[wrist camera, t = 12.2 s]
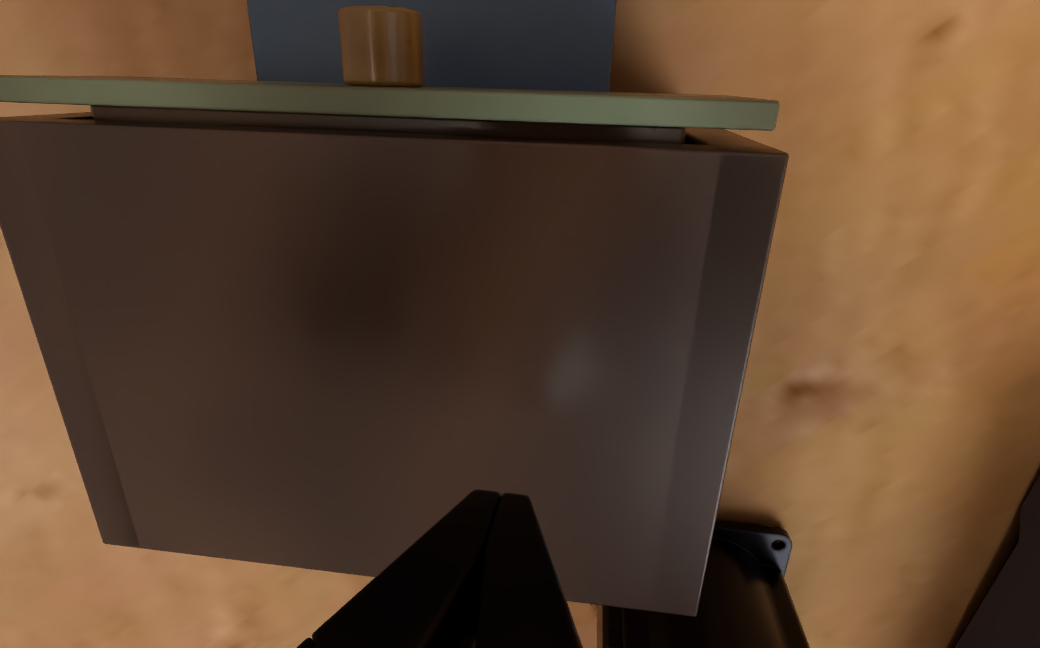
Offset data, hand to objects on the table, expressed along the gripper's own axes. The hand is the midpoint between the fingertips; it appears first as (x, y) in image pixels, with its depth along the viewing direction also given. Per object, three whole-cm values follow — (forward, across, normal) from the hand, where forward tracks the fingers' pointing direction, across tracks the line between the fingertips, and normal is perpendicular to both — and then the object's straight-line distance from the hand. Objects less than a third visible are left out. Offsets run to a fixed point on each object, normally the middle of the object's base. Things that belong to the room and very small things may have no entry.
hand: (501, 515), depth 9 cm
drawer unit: (+12, +3, -1) cm, 12 cm away
